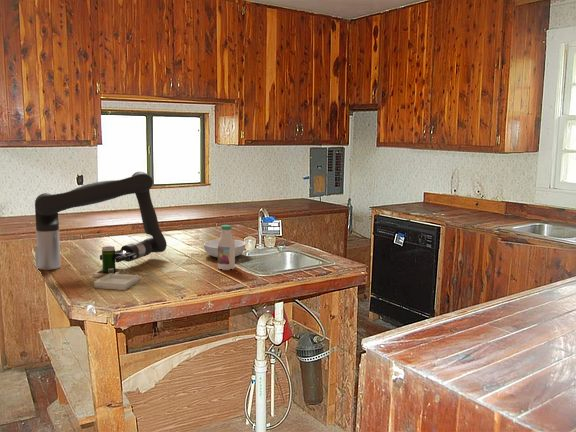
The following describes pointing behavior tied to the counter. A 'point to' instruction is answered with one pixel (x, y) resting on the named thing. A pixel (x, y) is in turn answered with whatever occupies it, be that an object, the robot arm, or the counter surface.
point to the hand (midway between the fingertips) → (108, 258)
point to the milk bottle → (226, 249)
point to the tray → (116, 281)
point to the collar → (99, 274)
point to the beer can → (108, 260)
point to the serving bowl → (212, 247)
